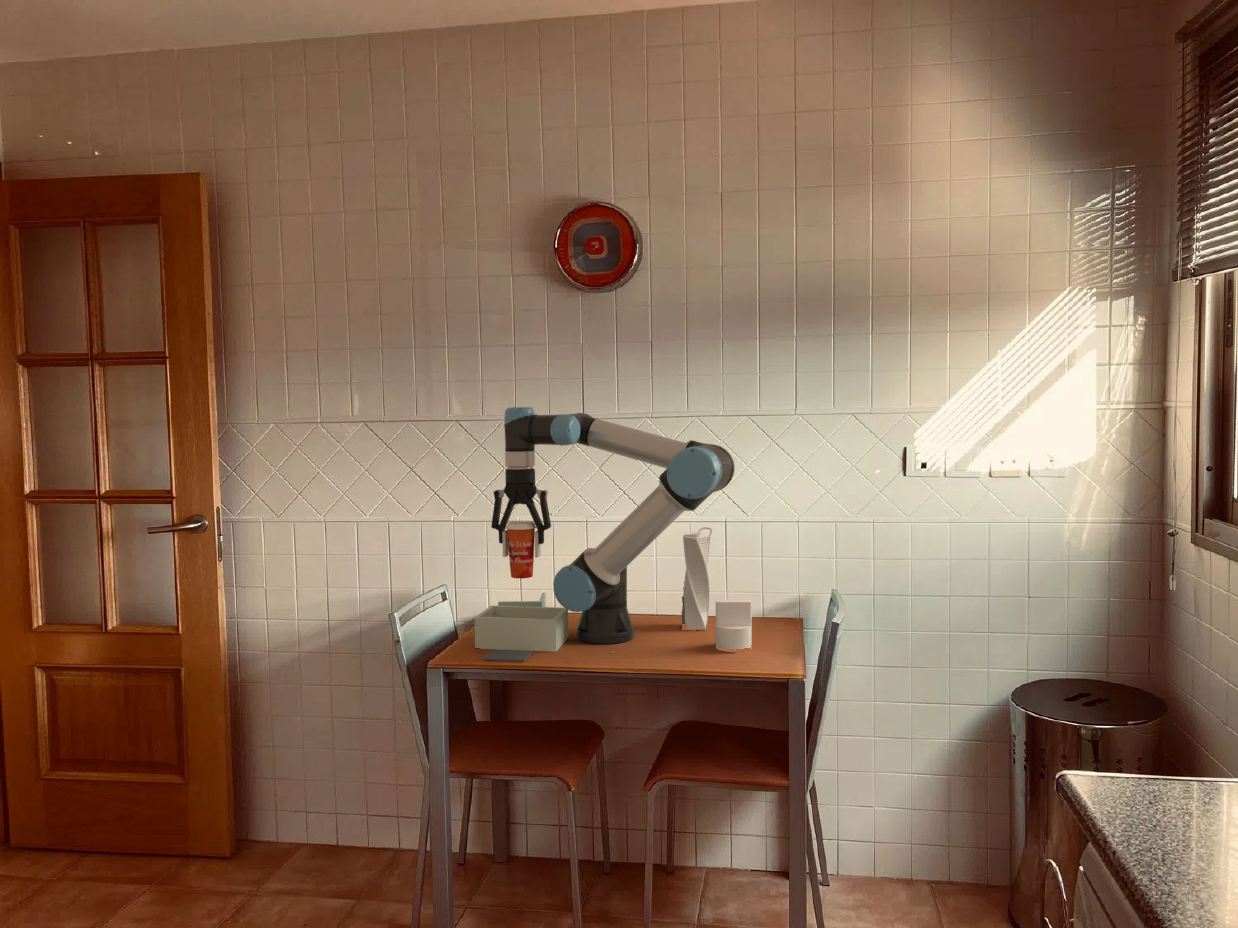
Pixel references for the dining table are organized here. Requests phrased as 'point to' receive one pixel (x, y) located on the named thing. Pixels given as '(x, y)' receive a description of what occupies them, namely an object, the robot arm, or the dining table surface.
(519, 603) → the l-shaped corner panel
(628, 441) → the robot arm
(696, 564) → the skyscraper
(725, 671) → the dining table surface
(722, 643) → the base with upright slab
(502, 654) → the mat
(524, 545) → the paper cup
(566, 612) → the crate
